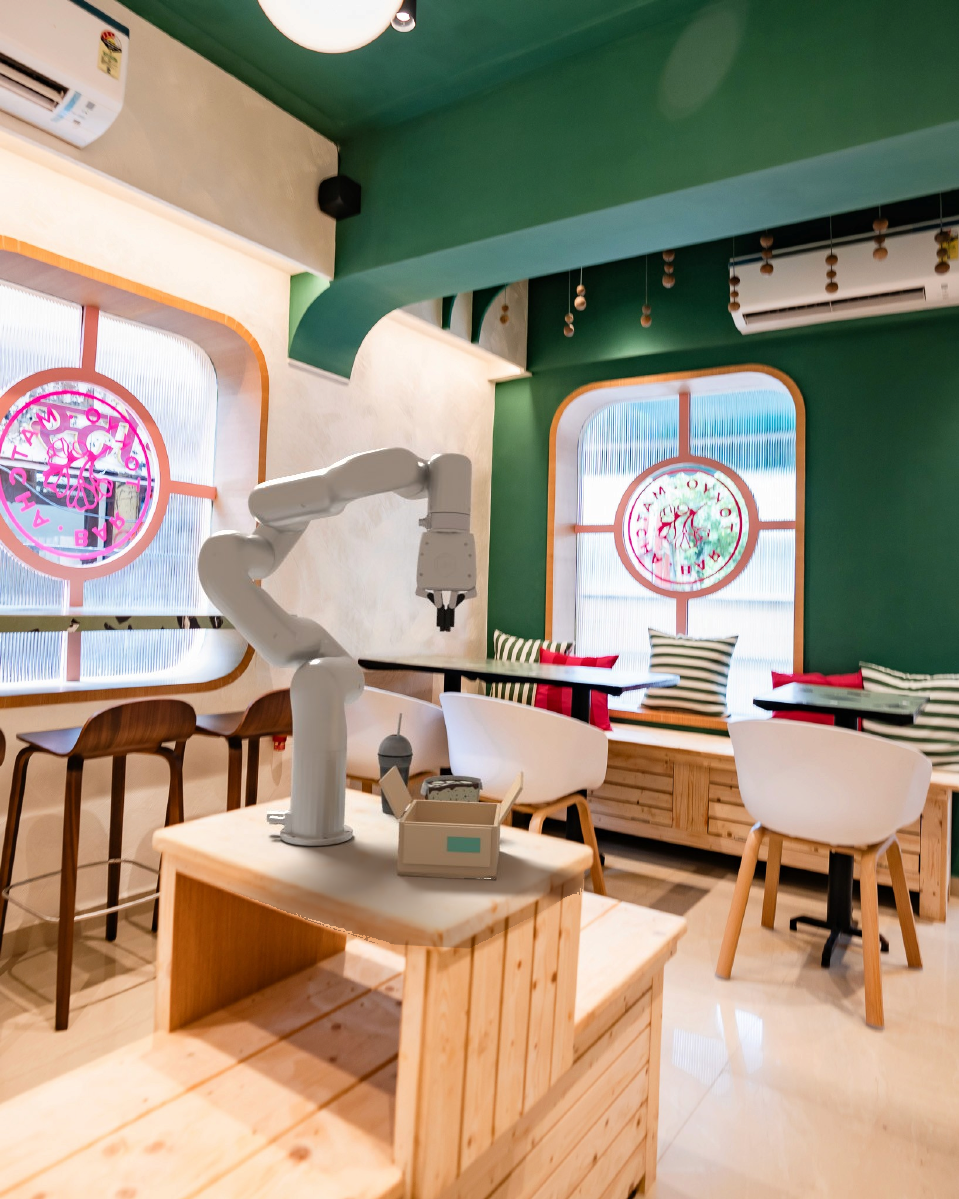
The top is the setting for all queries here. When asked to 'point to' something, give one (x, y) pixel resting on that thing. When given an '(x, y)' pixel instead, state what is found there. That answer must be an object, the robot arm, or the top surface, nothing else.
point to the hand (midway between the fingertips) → (445, 631)
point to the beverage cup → (394, 759)
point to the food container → (452, 788)
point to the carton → (449, 839)
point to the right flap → (511, 797)
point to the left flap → (395, 792)
